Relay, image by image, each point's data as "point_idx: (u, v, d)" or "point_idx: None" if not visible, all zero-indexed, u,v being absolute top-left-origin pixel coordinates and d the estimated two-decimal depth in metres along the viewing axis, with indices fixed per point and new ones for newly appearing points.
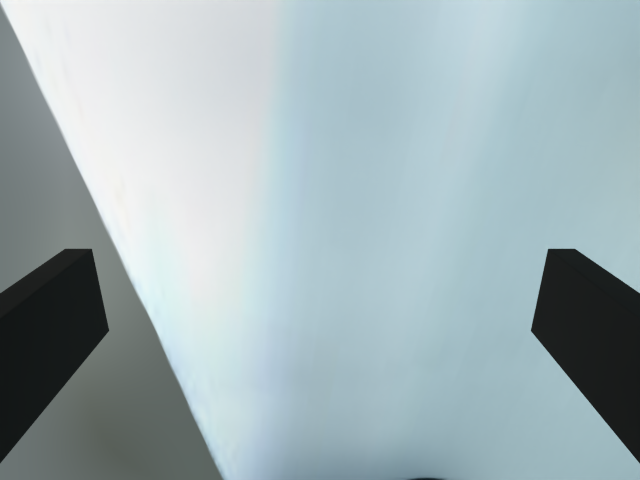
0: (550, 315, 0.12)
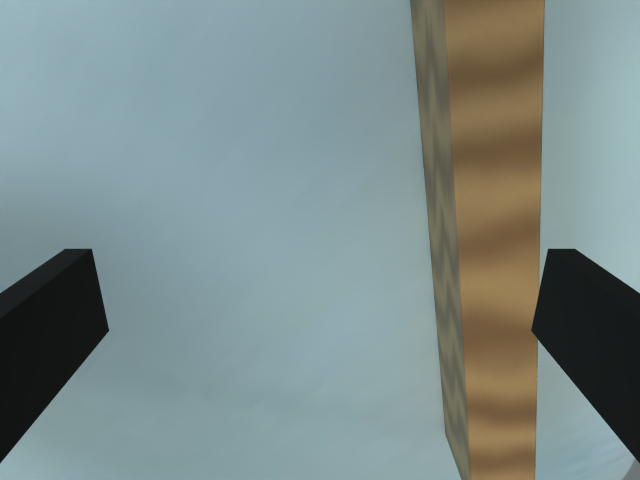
0: (550, 315, 0.12)
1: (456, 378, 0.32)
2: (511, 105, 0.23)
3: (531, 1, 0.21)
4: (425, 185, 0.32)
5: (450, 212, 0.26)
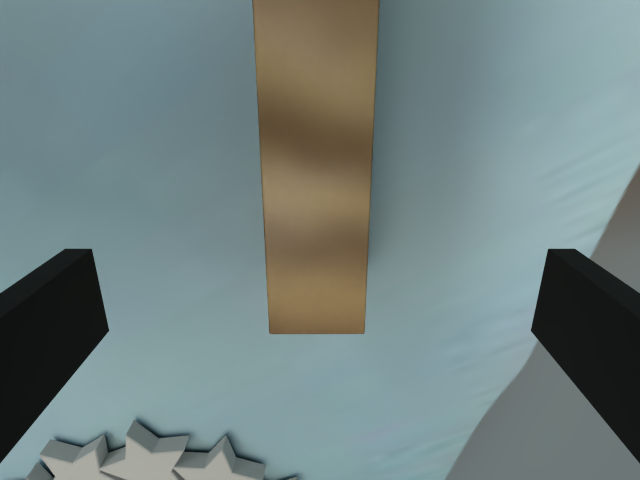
0: (550, 315, 0.12)
1: None
2: None
3: None
4: None
5: None
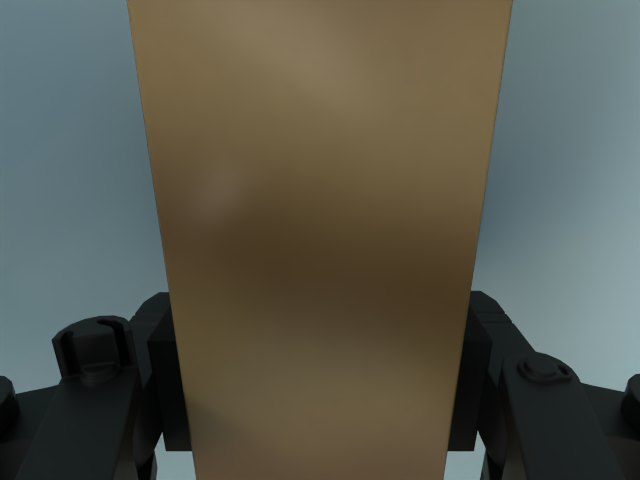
0: None
1: None
2: None
3: None
4: None
5: None
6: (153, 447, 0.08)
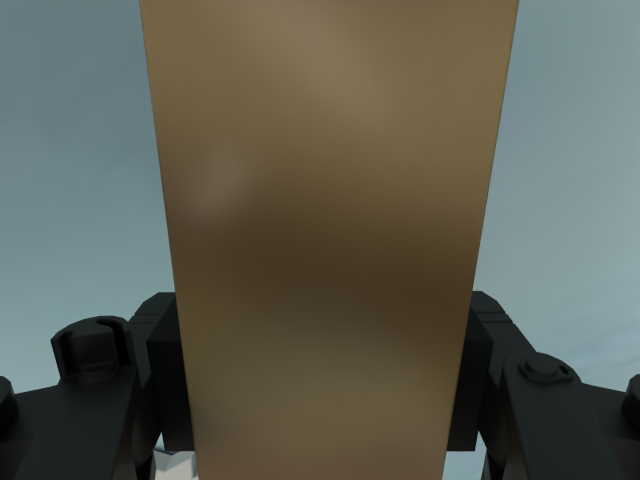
0: None
1: None
2: None
3: None
4: None
5: None
6: (152, 447, 0.08)
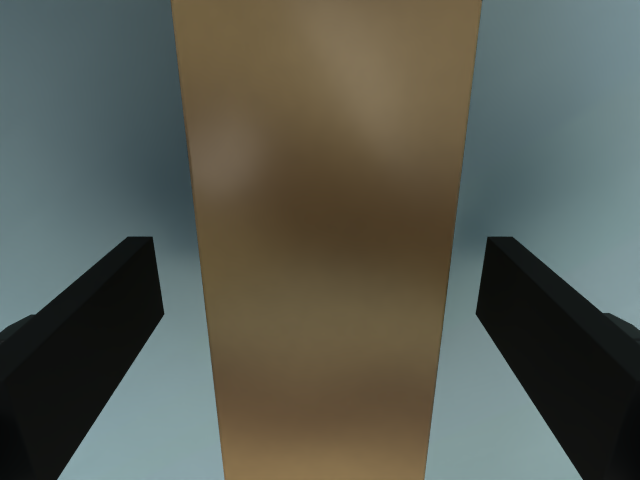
0: (489, 298, 0.13)
1: None
2: None
3: None
4: None
5: None
6: None
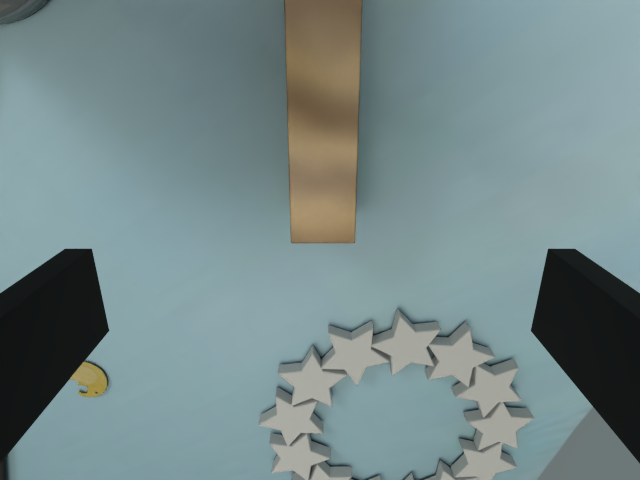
0: (550, 315, 0.12)
1: None
2: None
3: None
4: None
5: None
6: None
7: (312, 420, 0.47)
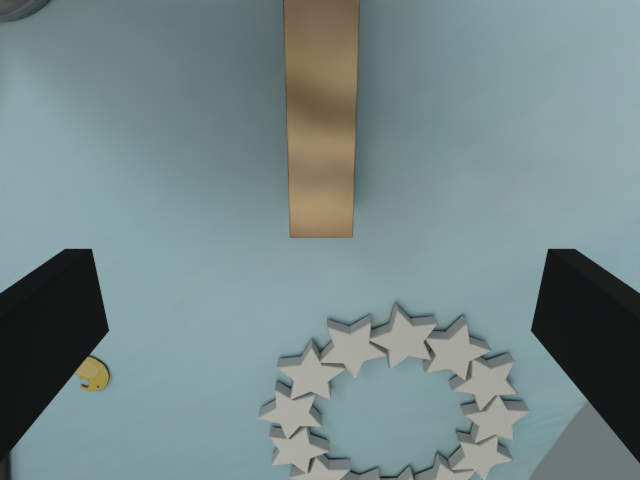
0: (550, 315, 0.12)
1: None
2: None
3: None
4: None
5: None
6: None
7: (311, 413, 0.47)
